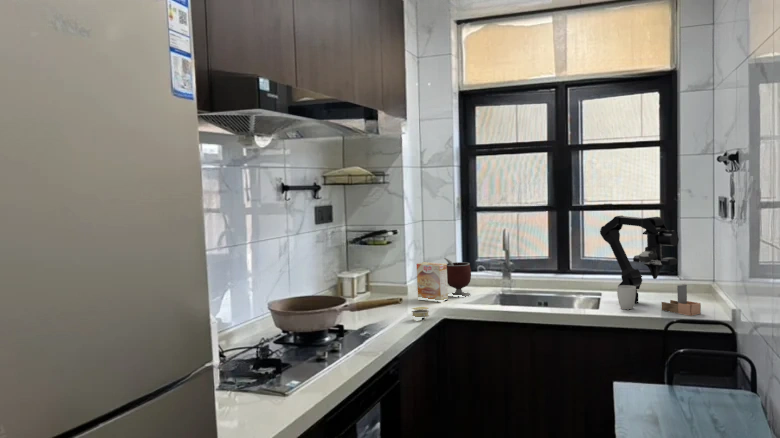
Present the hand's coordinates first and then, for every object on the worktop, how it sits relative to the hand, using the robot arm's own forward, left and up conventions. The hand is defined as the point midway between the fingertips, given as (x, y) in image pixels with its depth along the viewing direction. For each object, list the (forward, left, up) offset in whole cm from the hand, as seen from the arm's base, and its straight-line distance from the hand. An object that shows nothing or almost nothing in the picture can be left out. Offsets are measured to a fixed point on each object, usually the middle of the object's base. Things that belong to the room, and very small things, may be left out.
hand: (654, 278), depth 262 cm
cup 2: (+9, -13, -13) cm, 21 cm away
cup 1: (-13, -1, -13) cm, 19 cm away
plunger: (+8, -11, -10) cm, 17 cm away
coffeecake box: (-102, +29, -13) cm, 107 cm away
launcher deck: (+5, -8, -13) cm, 16 cm away
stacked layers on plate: (-106, -14, -14) cm, 108 cm away
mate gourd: (-89, +41, -13) cm, 99 cm away
